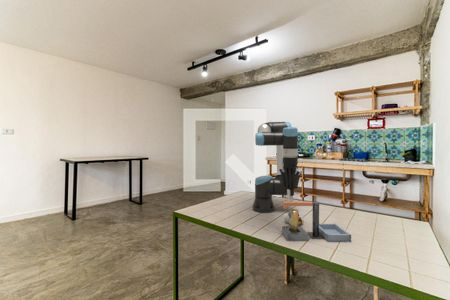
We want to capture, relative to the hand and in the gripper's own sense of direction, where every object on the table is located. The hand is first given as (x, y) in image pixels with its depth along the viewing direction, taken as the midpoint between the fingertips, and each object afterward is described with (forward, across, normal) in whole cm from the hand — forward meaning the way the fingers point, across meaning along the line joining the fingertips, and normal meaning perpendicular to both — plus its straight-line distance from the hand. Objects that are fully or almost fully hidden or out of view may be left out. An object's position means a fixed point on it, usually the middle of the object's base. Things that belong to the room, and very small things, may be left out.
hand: (290, 201), depth 112 cm
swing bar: (+1, +8, -1) cm, 8 cm away
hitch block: (+16, +6, -4) cm, 17 cm away
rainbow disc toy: (+16, -5, +10) cm, 19 cm away
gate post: (+16, +12, +5) cm, 20 cm away
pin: (+16, +6, -4) cm, 17 cm away
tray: (+16, +16, +12) cm, 25 cm away
